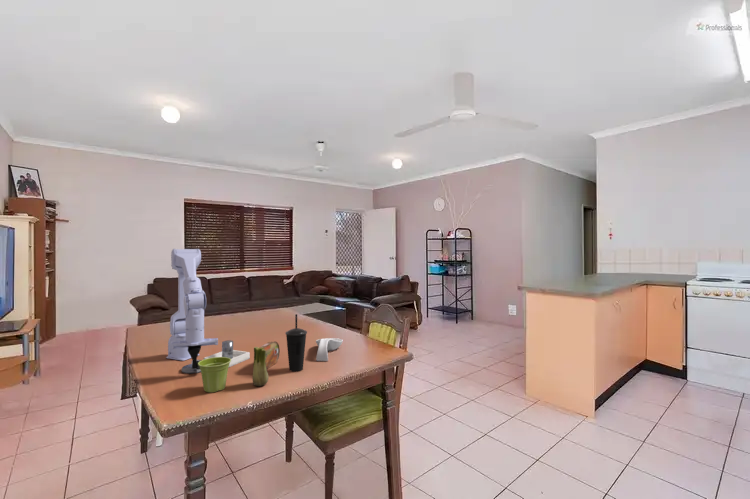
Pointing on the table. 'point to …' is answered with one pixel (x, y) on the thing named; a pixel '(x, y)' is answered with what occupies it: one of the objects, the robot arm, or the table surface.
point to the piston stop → (227, 349)
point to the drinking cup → (296, 347)
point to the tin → (271, 353)
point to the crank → (198, 366)
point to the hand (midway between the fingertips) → (194, 367)
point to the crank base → (189, 369)
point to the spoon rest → (326, 347)
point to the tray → (237, 357)
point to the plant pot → (214, 373)
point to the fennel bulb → (259, 367)
